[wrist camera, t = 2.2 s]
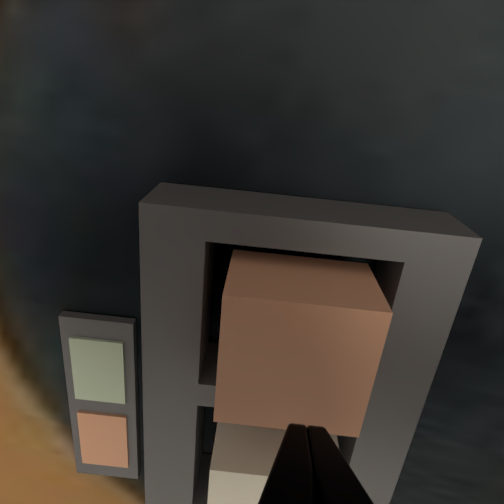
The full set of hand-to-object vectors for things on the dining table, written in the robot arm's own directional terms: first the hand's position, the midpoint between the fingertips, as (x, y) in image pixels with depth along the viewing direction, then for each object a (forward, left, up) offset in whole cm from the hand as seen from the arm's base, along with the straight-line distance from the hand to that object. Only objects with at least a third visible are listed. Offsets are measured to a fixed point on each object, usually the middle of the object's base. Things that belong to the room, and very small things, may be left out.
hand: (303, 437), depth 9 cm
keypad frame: (-6, 0, -7) cm, 9 cm away
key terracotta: (0, 0, -5) cm, 5 cm away
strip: (-6, +8, -7) cm, 12 cm away
